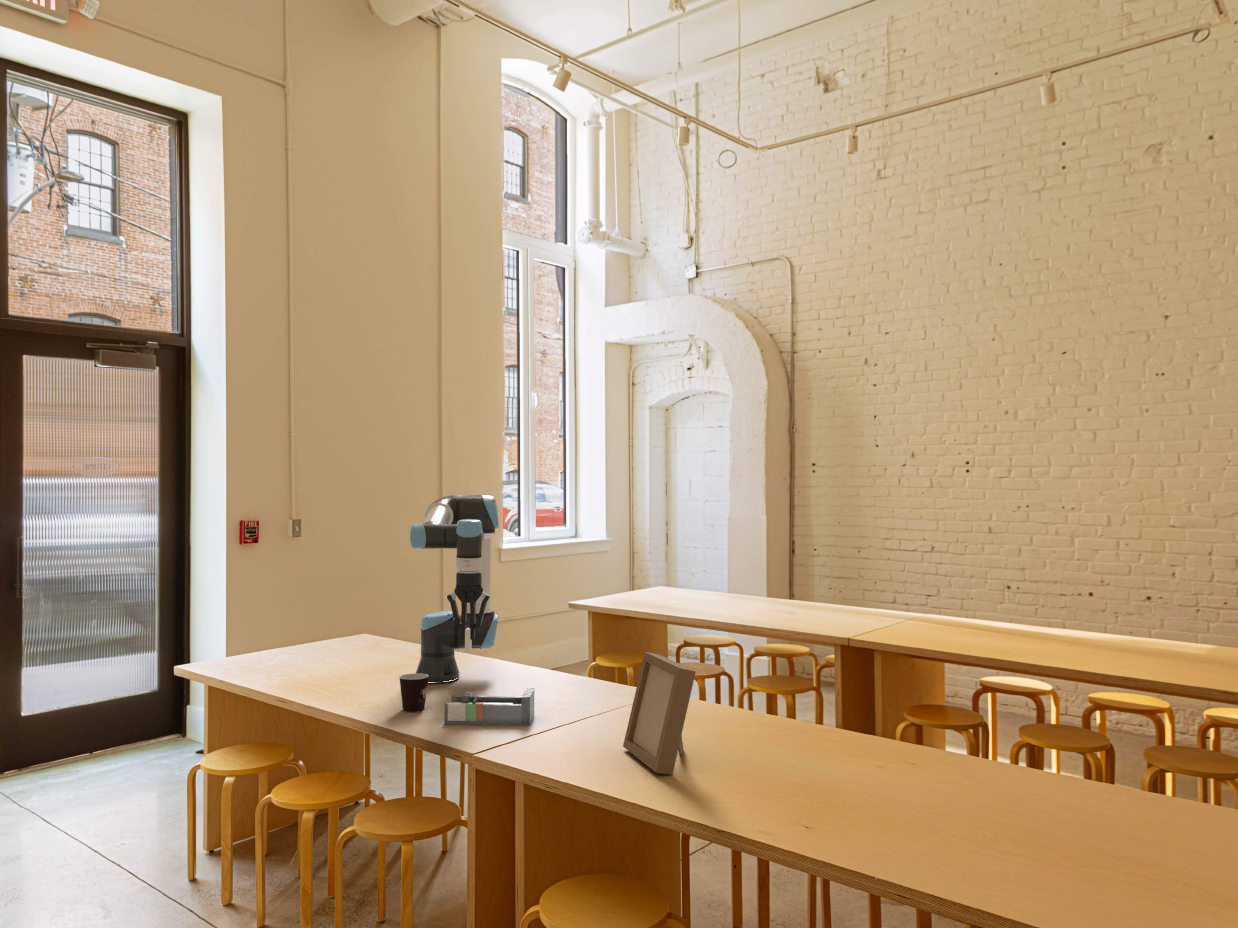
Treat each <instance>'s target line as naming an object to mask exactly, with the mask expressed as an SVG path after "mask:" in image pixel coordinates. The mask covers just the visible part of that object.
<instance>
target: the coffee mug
mask: <svg viewBox="0 0 1238 928" xmlns="http://www.w3.org/2000/svg"><path fill="white" fill-rule="evenodd" d="M428 677H429V676H428V675H427V674H421V673H416V672H415V673H406V674H402V675H400V676H399V686H400V687H399V688H400V694H401V695H400V696H401V697H400V698H401V704H402V711H403V712H405V711H406V713H418V711H419V712H423V711H425V708H426V701H427V700H426V699H427V690H428V684H429V683H428ZM422 710H423V711H422Z"/></svg>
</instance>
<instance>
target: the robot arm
mask: <svg viewBox="0 0 1238 928" xmlns="http://www.w3.org/2000/svg"><path fill="white" fill-rule="evenodd" d="M498 512H499V511H498V505H497V499H496V498H495V496H493V495H486V494H485V495H484V494H479V495H478V494H477V495H476V494H473V495H471V494H467V495H465V494H462V495H461V494H459V495H458V494H457V495H456V494H453V495H452V494H451V495H448V496H444V497H441V498H438V499H437V500H434V501H433V502H432V503H430V504H429V505H428V507H427V508H426V510H425V512H424V513H425V514H424V520H423V521H422V523H414V524H412V525H411V526H410V533H409V541H410V542H409V543H410V547H411V548H412V549H421V550H424V549H427V550H428V549H455V550H456V556H455V557H456V558H455V559H456V562H455V564H456V565H455V569H456V571H457V572H456V573H455V588H454V591H453V592H451V593H449V594H447V596H446V599H447V600H448V602H449V604H450V607H451V610H445V611H443V610H442V611H437V612H433V613H429V614H426V615H424V616H423V617H422V618H421V625H420V631H421V633H420V640H421V641H420V659H419V661H418V665H417V668H416V670H415V673H421V674H427V675H428V676H429V677H428V682H443V681H449V680H454V679H456V678H459V679H460V670H459V667H458V664H457V660H456V658H455V657H456V656H455V650H458V649H459V650H462V649H463V650H464V651H465V652H471V651H472V649H479V650H482V649H491V648H493V647H494V646H495V642H496V636H497V627H498V621H499V615H498V614H496V613H495V609H494V608H493V606H491V554H492V553H491V550H492V549H491V542H492V540H491V539H492V537H493V536H494V535H495V533H496V530H497V529H499V528H500V521H499V513H498ZM456 599H458V600H459V602H460V604H461V605H460V606H461V610H460V614H459V609H458V604H457V601H456Z"/></svg>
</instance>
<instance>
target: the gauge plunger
mask: <svg viewBox="0 0 1238 928" xmlns="http://www.w3.org/2000/svg"><path fill="white" fill-rule="evenodd" d="M461 696H462V703H472V704H475V703H478V698H475V699H474V700H473V696H474V691H473V690H465V691H464V693H463V694H462V695H461ZM484 704H513V703H484Z"/></svg>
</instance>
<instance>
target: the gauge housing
mask: <svg viewBox="0 0 1238 928" xmlns="http://www.w3.org/2000/svg"><path fill="white" fill-rule="evenodd" d="M462 696H463V695H451V699H450V700H451V701H450V702H449V701H448V703H445V704H444V713H443V714H444V717H443V719H444V721H443V723H444V724H443V726H444V725H447V726H449V725H450V726H453V725H454V726H455V725H456V726H457V725H458V726H519V725H526V726H527V725H529V726H531V724H532V722H533V719H534V716H535V688H534V687H533V688H532V687H527V688H525V690H524V692H523V693H522V695H521V696H518V695H516V696H514V695H508V696H507V695H506V696H505V695H501V696H499V695H498V696H497V695H473V700H474V699H475V698H478V703H475V704H472V703H462ZM484 703H513V704H484ZM531 721H532V722H531ZM526 726H525V727H526ZM529 726H528V727H529Z"/></svg>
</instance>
